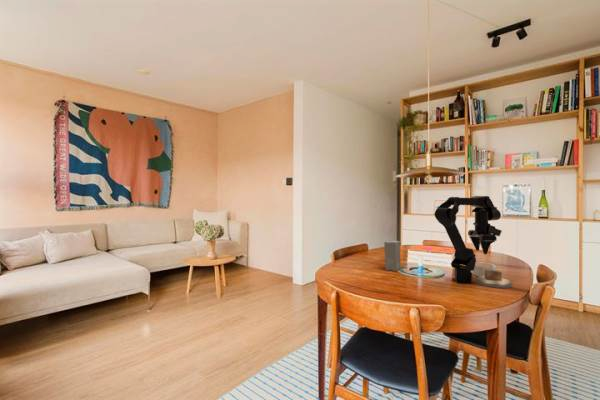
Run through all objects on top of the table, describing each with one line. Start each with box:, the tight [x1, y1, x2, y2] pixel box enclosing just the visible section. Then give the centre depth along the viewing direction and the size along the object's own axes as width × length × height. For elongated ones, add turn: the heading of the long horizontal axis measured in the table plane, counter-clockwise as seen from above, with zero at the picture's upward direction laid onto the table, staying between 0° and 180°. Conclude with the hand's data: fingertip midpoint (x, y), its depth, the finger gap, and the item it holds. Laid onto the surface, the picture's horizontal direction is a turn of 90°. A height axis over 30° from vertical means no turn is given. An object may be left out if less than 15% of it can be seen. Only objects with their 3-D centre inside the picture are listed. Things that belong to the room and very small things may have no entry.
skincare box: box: [383, 240, 402, 272], centre depth 169 cm, size 8×7×16 cm
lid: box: [476, 269, 511, 286], centre depth 141 cm, size 13×13×5 cm
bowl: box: [471, 261, 498, 277], centre depth 156 cm, size 11×11×5 cm
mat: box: [474, 277, 513, 289], centre depth 141 cm, size 15×15×1 cm
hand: (481, 252), depth 149 cm, fingers open, 9 cm apart
